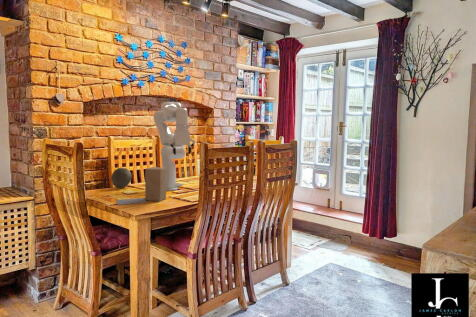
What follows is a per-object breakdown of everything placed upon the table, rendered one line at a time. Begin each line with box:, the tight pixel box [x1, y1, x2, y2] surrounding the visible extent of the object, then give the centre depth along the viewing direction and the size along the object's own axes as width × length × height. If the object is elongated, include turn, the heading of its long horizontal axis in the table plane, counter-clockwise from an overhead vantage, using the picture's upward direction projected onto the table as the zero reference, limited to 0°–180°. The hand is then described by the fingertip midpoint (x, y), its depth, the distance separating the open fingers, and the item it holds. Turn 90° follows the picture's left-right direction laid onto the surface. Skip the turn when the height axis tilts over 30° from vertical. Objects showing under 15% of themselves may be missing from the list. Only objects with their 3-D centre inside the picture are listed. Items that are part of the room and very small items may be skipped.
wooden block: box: [144, 166, 167, 202], centre depth 226 cm, size 10×10×20 cm
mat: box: [115, 197, 148, 206], centre depth 221 cm, size 17×14×1 cm
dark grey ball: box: [110, 167, 133, 189], centre depth 265 cm, size 14×14×15 cm
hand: (182, 154), depth 230 cm, fingers open, 9 cm apart
